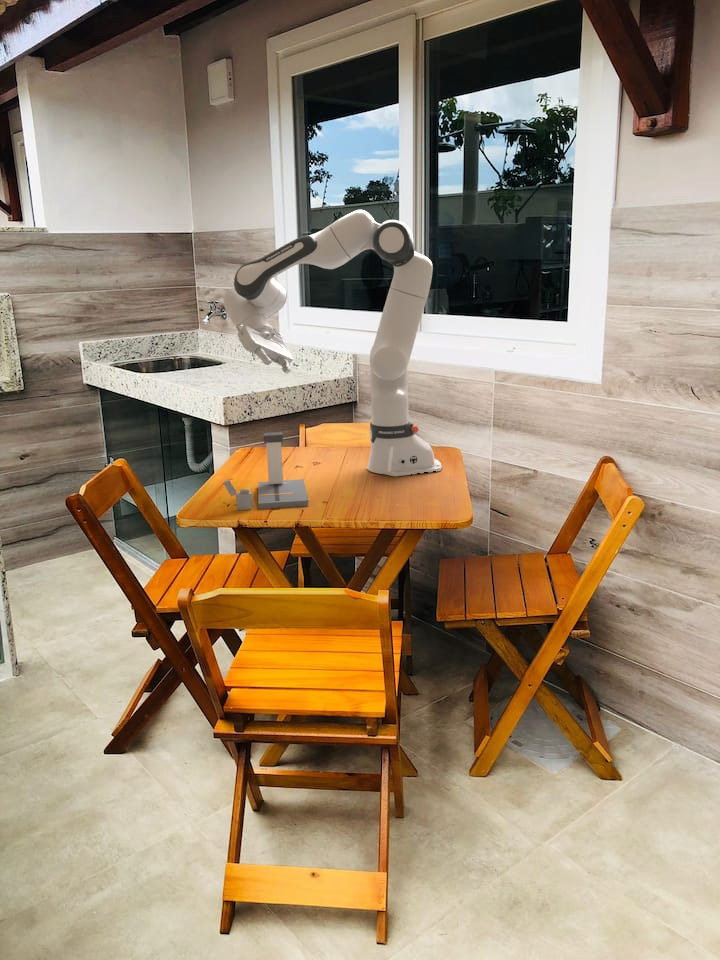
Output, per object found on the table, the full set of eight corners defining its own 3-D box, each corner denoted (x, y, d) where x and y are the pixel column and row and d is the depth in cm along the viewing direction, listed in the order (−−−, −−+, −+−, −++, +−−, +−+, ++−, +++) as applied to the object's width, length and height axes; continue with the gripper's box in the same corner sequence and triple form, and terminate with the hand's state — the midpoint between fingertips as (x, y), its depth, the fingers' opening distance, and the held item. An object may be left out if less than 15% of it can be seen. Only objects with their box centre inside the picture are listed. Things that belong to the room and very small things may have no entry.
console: (304, 484, 227) (303, 478, 226) (308, 505, 208) (308, 500, 207) (258, 487, 225) (258, 481, 225) (258, 509, 206) (258, 503, 206)
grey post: (285, 479, 224) (282, 431, 221) (285, 483, 221) (282, 434, 217) (266, 481, 224) (263, 432, 220) (266, 484, 220) (263, 435, 217)
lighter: (253, 507, 208) (251, 478, 206) (252, 509, 206) (250, 480, 204) (226, 508, 208) (223, 479, 205) (225, 510, 206) (223, 481, 204)
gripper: (241, 314, 218) (264, 350, 212) (284, 335, 235) (305, 368, 230) (226, 330, 220) (248, 365, 214) (269, 349, 237) (290, 383, 232)
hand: (278, 367), depth 222 cm, fingers open, 8 cm apart
